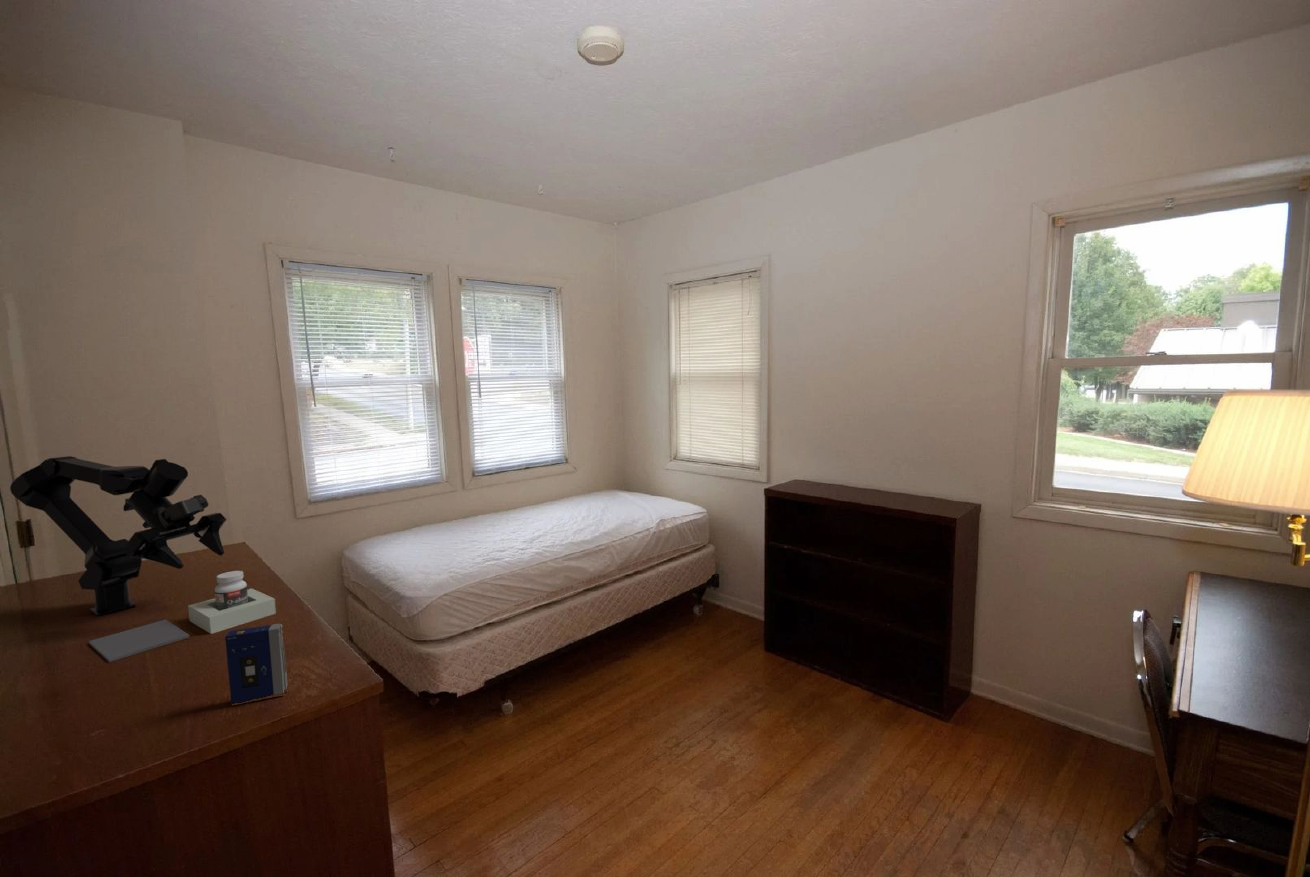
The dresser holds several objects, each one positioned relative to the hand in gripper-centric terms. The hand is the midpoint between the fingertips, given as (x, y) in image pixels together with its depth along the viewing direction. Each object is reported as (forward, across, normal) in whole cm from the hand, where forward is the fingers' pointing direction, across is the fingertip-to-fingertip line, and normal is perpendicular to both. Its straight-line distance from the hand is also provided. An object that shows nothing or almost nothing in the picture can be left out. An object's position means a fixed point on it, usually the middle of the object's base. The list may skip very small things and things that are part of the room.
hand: (202, 560), depth 122 cm
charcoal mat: (+8, -13, +10) cm, 18 cm away
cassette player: (+38, -26, -20) cm, 51 cm away
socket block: (+14, 0, +4) cm, 14 cm away
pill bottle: (+14, 0, +4) cm, 15 cm away
